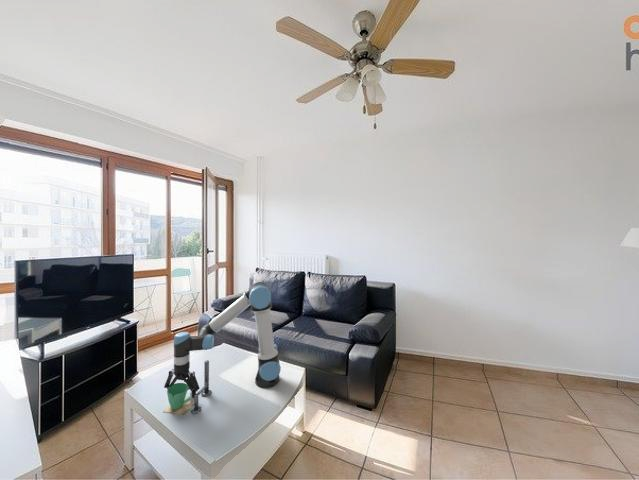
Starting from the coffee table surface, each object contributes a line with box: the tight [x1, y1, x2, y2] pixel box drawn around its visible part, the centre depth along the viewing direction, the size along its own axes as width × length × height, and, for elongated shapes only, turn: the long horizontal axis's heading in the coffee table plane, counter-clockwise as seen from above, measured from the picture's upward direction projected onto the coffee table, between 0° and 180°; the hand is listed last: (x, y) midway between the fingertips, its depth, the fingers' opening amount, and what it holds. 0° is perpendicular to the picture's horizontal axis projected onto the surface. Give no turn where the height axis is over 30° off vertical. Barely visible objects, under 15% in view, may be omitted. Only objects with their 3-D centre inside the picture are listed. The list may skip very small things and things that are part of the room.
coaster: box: [163, 397, 194, 416], centre depth 140 cm, size 12×12×1 cm
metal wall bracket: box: [190, 360, 213, 415], centre depth 143 cm, size 8×19×19 cm, turn 171°
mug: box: [166, 382, 190, 410], centre depth 140 cm, size 15×10×10 cm
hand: (181, 401), depth 140 cm, fingers open, 12 cm apart
